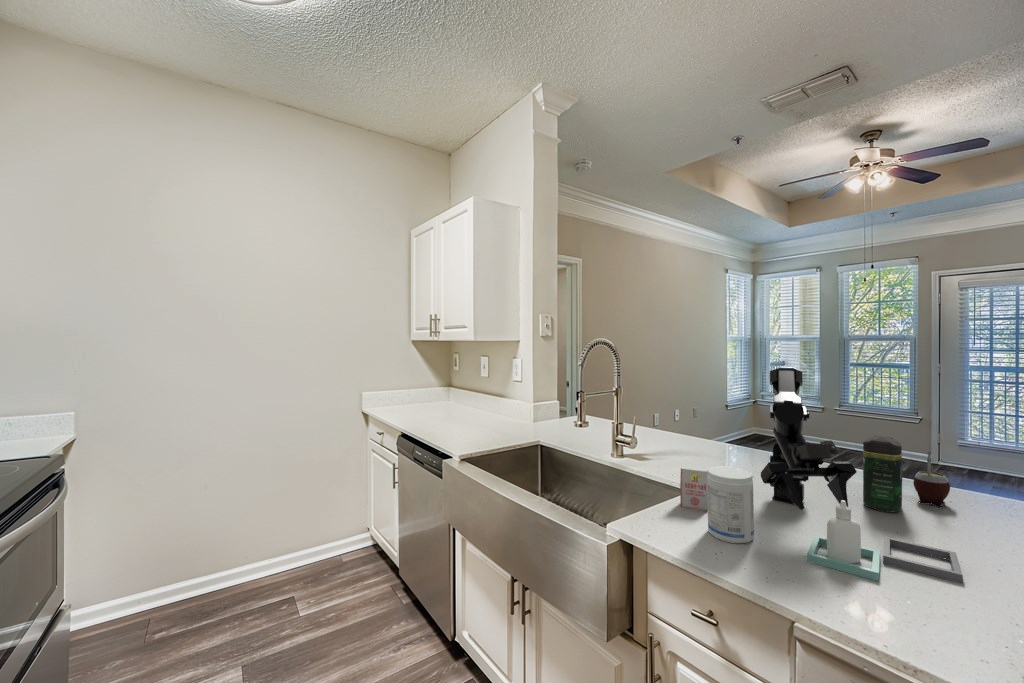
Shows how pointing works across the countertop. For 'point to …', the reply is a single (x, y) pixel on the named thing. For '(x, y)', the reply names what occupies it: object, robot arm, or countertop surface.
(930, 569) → the upper socket
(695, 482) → the white red printed box
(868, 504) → the coffee jar
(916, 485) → the mate gourd
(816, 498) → the countertop surface
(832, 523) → the eye dropper bottle
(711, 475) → the supplement tub
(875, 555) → the lower socket
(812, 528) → the countertop surface
